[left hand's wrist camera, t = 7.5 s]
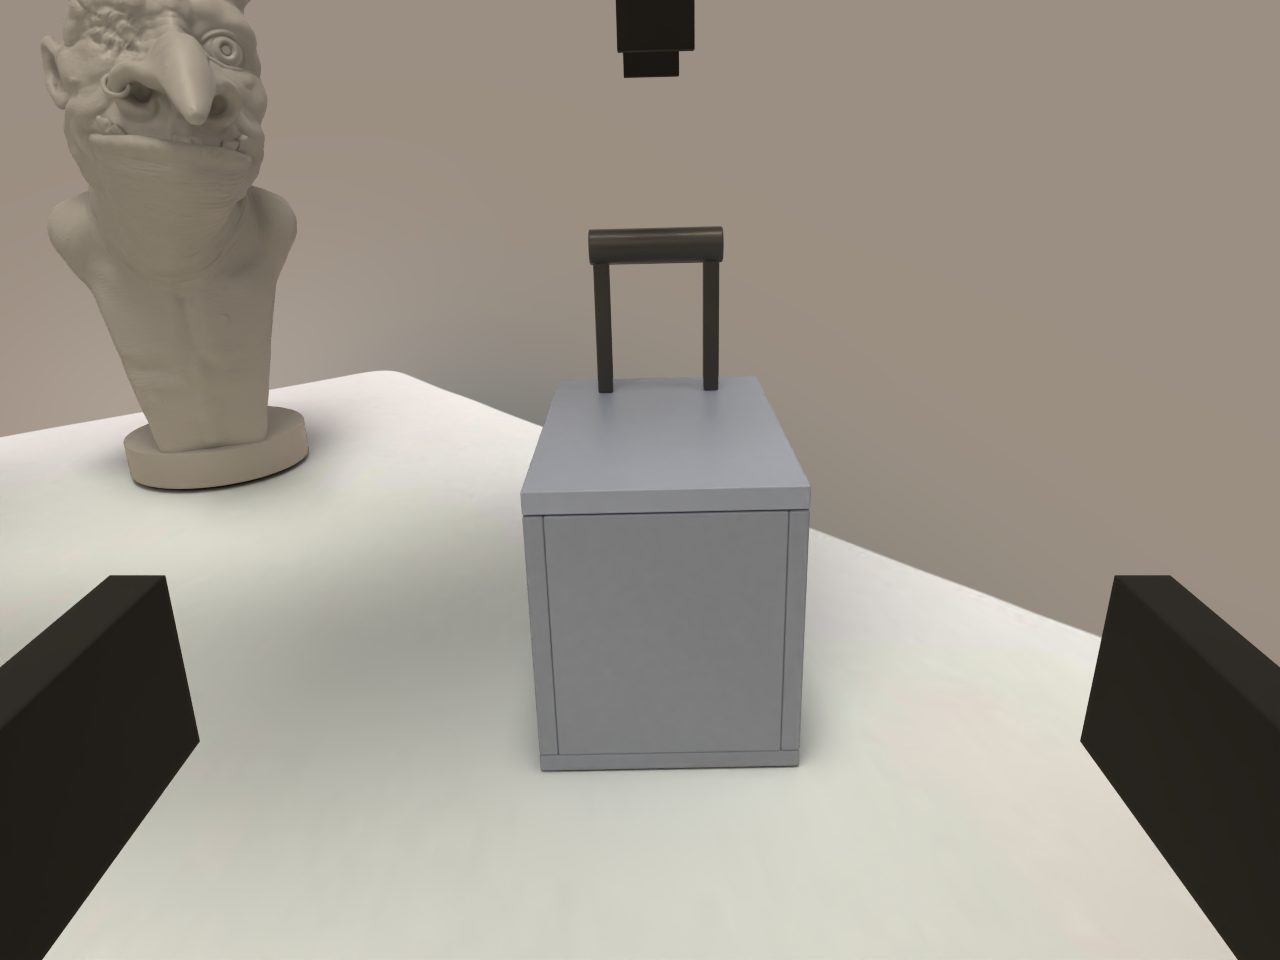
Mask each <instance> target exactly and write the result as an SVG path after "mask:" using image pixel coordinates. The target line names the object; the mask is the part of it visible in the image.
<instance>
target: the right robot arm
mask: <svg viewBox="0 0 1280 960" xmlns="http://www.w3.org/2000/svg"><path fill="white" fill-rule="evenodd" d="M616 21H617V51H618V53H623V63H624V78H637V77H675V76H679V51H693V50H694V0H616Z"/></svg>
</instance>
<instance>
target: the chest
mask: <svg viewBox="0 0 1280 960" xmlns="http://www.w3.org/2000/svg"><path fill="white" fill-rule="evenodd" d="M809 516H810V512H809V510H808V509H780V510H734V511H688V512H643V513H597V514H552V515H523V532H524V546H525V559H526V573H527V586H528V600H529V613H530V627H531V640H532V653H533V667H534V680H535V694H536V707H537V721H538V734H539V748H540V762H541V770H543V771H547V770H598V769H649V768H700V767H751V766H797V765H798V764H799V742H800V720H801V697H802V675H803V652H804V629H805V607H806V584H807V561H808V539H809Z"/></svg>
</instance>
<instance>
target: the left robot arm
mask: <svg viewBox="0 0 1280 960" xmlns="http://www.w3.org/2000/svg"><path fill="white" fill-rule="evenodd" d="M199 742H200V740H199V735H198V730H197V725H196V721H195V716H194V711H193V706H192V701H191V697H190V692H189V687H188V682H187V677H186V673H185V668H184V663H183V658H182V653H181V649H180V644H179V639H178V634H177V630H176V625H175V620H174V615H173V610H172V606H171V601H170V596H169V591H168V586H167V582H166V577H165V575H110V576H109V577H107V578H106V579H105V580H104V581H103V582H101V583H100V584H99V585H98V586H97V587H95V588H94V589H93V590H92V591H91V592H90V593H88V594H87V595H86V596H85V597H84V598H82V599H81V600H80V601H79V602H78V603H76V604H75V605H74V606H73V607H72V608H70V609H69V610H68V611H67V612H66V613H64V614H63V615H62V616H61V617H60V618H59V619H57V620H56V621H55V622H54V623H53V624H51V625H50V626H49V627H48V628H47V629H45V630H44V631H43V632H42V633H41V634H39V635H38V636H37V637H36V638H35V639H33V640H32V641H31V642H30V643H29V644H28V645H26V646H25V647H24V648H23V649H22V650H20V651H19V652H18V653H17V654H16V655H14V656H13V657H12V658H11V659H10V660H8V661H7V662H6V663H5V664H4V665H2V666H1V667H0V960H42V959H43V958H44V957H45V955H46V954H47V952H48V951H49V950H50V948H51V947H52V945H53V944H54V943H55V941H56V940H57V938H58V937H59V936H60V934H61V933H62V932H63V930H64V929H65V927H66V926H67V925H68V923H69V922H70V920H71V919H72V918H73V916H74V915H75V914H76V912H77V911H78V909H79V908H80V907H81V905H82V904H83V902H84V901H85V900H86V898H87V897H88V896H89V894H90V893H91V891H92V890H93V889H94V887H95V886H96V884H97V883H98V882H99V880H100V879H101V877H102V876H103V875H104V873H105V872H106V871H107V869H108V868H109V866H110V865H111V864H112V862H113V861H114V859H115V858H116V857H117V855H118V854H119V853H120V851H121V850H122V848H123V847H124V846H125V844H126V843H127V841H128V840H129V839H130V837H131V836H132V834H133V833H134V832H135V830H136V829H137V828H138V826H139V825H140V823H141V822H142V821H143V819H144V818H145V816H146V815H147V814H148V812H149V811H150V810H151V808H152V807H153V805H154V804H155V803H156V801H157V800H158V798H159V797H160V796H161V794H162V793H163V792H164V790H165V789H166V787H167V786H168V785H169V783H170V782H171V780H172V779H173V778H174V776H175V775H176V773H177V772H178V771H179V769H180V768H181V767H182V765H183V764H184V762H185V761H186V760H187V758H188V757H189V755H190V754H191V753H192V751H193V750H194V749H195V747H196V746H197V744H198V743H199ZM1080 742H1081V743H1082V744H1083V746H1084V747H1085V749H1086V750H1087V751H1088V753H1089V754H1090V755H1091V757H1092V758H1093V760H1094V761H1095V762H1096V764H1097V765H1098V767H1099V768H1100V769H1101V771H1102V772H1103V773H1104V775H1105V776H1106V778H1107V779H1108V780H1109V782H1110V783H1111V785H1112V786H1113V787H1114V789H1115V790H1116V792H1117V793H1118V794H1119V796H1120V797H1121V798H1122V800H1123V801H1124V803H1125V804H1126V805H1127V807H1128V808H1129V810H1130V811H1131V812H1132V814H1133V815H1134V816H1135V818H1136V819H1137V821H1138V822H1139V823H1140V825H1141V826H1142V828H1143V829H1144V830H1145V832H1146V833H1147V834H1148V836H1149V837H1150V839H1151V840H1152V841H1153V843H1154V844H1155V846H1156V847H1157V848H1158V850H1159V851H1160V853H1161V854H1162V855H1163V857H1164V858H1165V859H1166V861H1167V862H1168V864H1169V865H1170V866H1171V868H1172V869H1173V871H1174V872H1175V873H1176V875H1177V876H1178V877H1179V879H1180V880H1181V882H1182V883H1183V884H1184V886H1185V887H1186V889H1187V890H1188V891H1189V893H1190V894H1191V896H1192V897H1193V898H1194V900H1195V901H1196V902H1197V904H1198V905H1199V907H1200V908H1201V909H1202V911H1203V912H1204V914H1205V915H1206V916H1207V918H1208V919H1209V920H1210V922H1211V923H1212V925H1213V926H1214V927H1215V929H1216V930H1217V932H1218V933H1219V934H1220V936H1221V937H1222V938H1223V940H1224V941H1225V943H1226V944H1227V945H1228V947H1229V948H1230V950H1231V951H1232V952H1233V954H1234V955H1235V957H1236V958H1237V959H1238V960H1280V667H1279V666H1278V665H1276V664H1275V663H1274V662H1273V661H1272V660H1270V659H1269V658H1268V657H1267V656H1266V655H1264V654H1263V653H1262V652H1261V651H1260V650H1258V649H1257V648H1256V647H1255V646H1254V645H1252V644H1251V643H1250V642H1249V641H1248V640H1247V639H1245V638H1244V637H1243V636H1242V635H1240V634H1239V633H1238V632H1237V631H1236V630H1235V629H1233V628H1232V627H1231V626H1230V625H1229V624H1227V623H1226V622H1225V621H1224V620H1223V619H1221V618H1220V617H1219V616H1218V615H1217V614H1215V613H1214V612H1213V611H1212V610H1211V609H1210V608H1208V607H1207V606H1206V605H1205V604H1204V603H1202V602H1201V601H1200V600H1199V599H1198V598H1196V597H1195V596H1194V595H1193V594H1192V593H1190V592H1189V591H1188V590H1187V589H1186V588H1185V587H1183V586H1182V585H1181V584H1180V583H1179V582H1177V581H1176V580H1175V579H1174V578H1173V577H1171V576H1170V575H1116V576H1115V577H1114V582H1113V586H1112V591H1111V596H1110V601H1109V606H1108V610H1107V615H1106V620H1105V625H1104V630H1103V634H1102V639H1101V644H1100V649H1099V653H1098V658H1097V663H1096V668H1095V673H1094V677H1093V682H1092V687H1091V692H1090V697H1089V701H1088V706H1087V711H1086V716H1085V721H1084V725H1083V730H1082V735H1081V740H1080Z"/></svg>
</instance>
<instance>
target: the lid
mask: <svg viewBox="0 0 1280 960" xmlns="http://www.w3.org/2000/svg"><path fill="white" fill-rule="evenodd" d="M588 243H589V260H590V264H591V265H593V271H594V296H595V320H596V344H597V369H598V379H594V380H560V381H559V382H558V385H557V388H556V391H555V394H554V397H553V400H552V403H551V406H550V408H549V411H548V414H547V417H546V420H545V423H544V426H543V429H542V432H541V435H540V438H539V441H538V444H537V446H536V449H535V452H534V455H533V458H532V461H531V464H530V467H529V470H528V473H527V476H526V479H525V481H524V484H523V487H522V490H521V507H522V514H523V515H552V514H597V513H643V512H688V511H734V510H780V509H809V508H810V496H811V486H810V484H809V482H808V480H807V478H806V476H805V474H804V472H803V470H802V468H801V466H800V464H799V462H798V460H797V458H796V456H795V454H794V452H793V450H792V447H791V445H790V443H789V441H788V439H787V437H786V435H785V433H784V431H783V430H782V427H781V425H780V424H779V421H778V419H777V417H776V415H775V413H774V411H773V409H772V407H771V405H770V403H769V401H768V399H767V397H766V395H765V393H764V391H763V389H762V387H761V385H760V383H759V381H758V379H757V377H756V376H723V377H718V372H719V371H718V369H719V262H722V259H723V229H722V227H721V226H714V227H673V228H632V229H592V230H589V237H588ZM697 262H703V377H680V378H637V379H613V362H612V333H611V304H610V276H609V265H615V264H656V263H697Z"/></svg>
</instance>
